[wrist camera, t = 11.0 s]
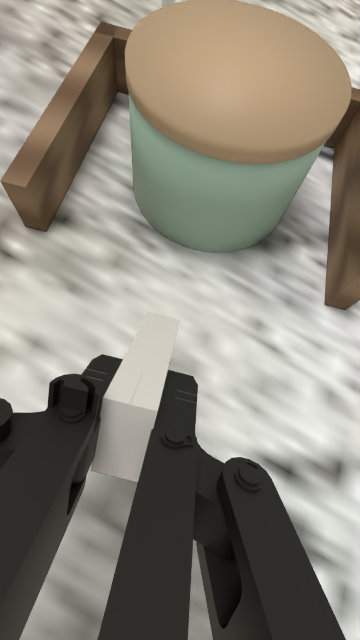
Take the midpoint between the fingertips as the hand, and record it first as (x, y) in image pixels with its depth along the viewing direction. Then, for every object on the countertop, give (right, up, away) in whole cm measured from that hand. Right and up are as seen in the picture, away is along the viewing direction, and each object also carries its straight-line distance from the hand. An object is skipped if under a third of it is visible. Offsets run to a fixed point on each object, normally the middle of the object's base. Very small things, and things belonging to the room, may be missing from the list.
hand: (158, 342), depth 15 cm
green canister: (+3, +11, +10) cm, 16 cm away
